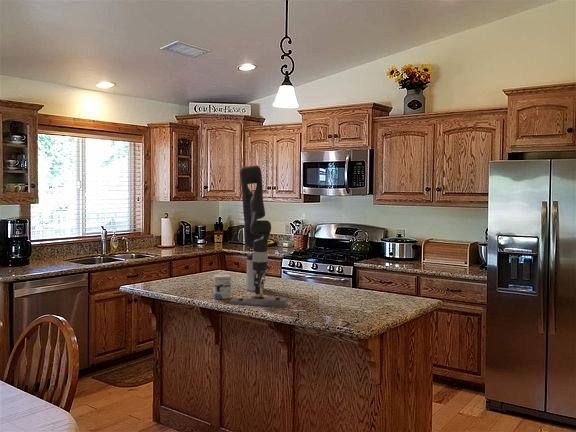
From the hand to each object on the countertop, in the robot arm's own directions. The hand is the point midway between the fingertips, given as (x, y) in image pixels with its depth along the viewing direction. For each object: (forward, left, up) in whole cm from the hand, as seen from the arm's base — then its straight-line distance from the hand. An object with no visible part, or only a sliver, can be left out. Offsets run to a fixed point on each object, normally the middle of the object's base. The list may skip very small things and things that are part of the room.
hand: (259, 292), depth 261 cm
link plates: (0, 0, -6) cm, 6 cm away
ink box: (-9, -22, -6) cm, 25 cm away
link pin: (0, 0, -6) cm, 6 cm away
